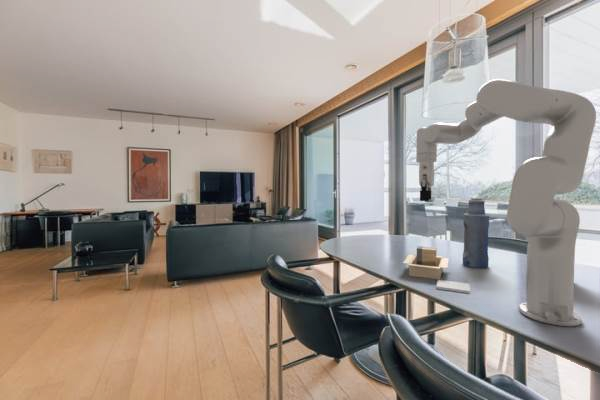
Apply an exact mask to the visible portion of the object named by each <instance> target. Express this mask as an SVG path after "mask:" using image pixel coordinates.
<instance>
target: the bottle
mask: <svg viewBox="0 0 600 400" xmlns="http://www.w3.org/2000/svg"><path fill="white" fill-rule="evenodd" d="M485 202H486V201H485V200H484V199H483V198H482V197H471V198H470V199H469V200H468V209H467V212H466V213H463V227H464V233H463V252H462V265H464V266H466V267H468V268H474V269H485V268H488V267H489V261H490V260H489V253H488V252H489V227H490V215H489V214H487V213H486V209H485Z"/></svg>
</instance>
